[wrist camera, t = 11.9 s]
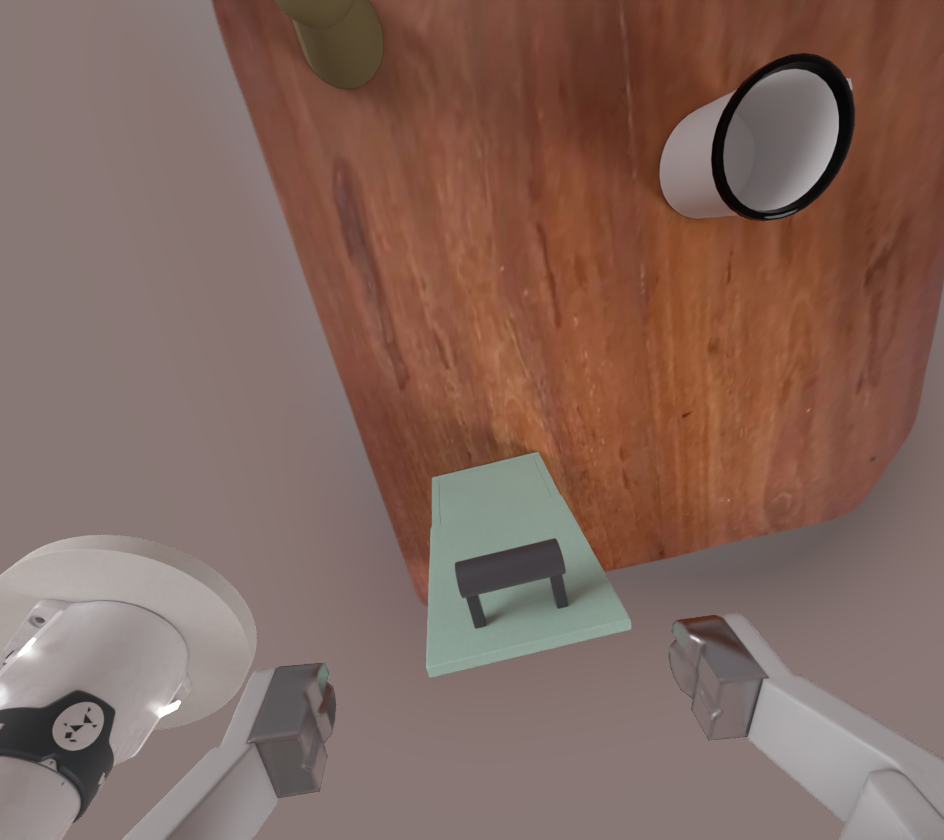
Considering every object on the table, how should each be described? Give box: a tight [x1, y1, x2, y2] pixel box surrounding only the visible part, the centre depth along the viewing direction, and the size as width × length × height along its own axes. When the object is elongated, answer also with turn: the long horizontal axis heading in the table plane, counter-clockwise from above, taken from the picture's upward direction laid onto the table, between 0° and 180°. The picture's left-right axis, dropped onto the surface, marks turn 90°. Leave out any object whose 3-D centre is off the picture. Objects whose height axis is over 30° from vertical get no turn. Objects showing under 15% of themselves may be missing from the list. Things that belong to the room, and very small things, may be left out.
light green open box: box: [432, 452, 561, 527], centre depth 44 cm, size 14×12×9 cm
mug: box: [659, 53, 855, 221], centre depth 32 cm, size 12×10×9 cm
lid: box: [426, 496, 632, 677], centre depth 30 cm, size 14×12×5 cm
